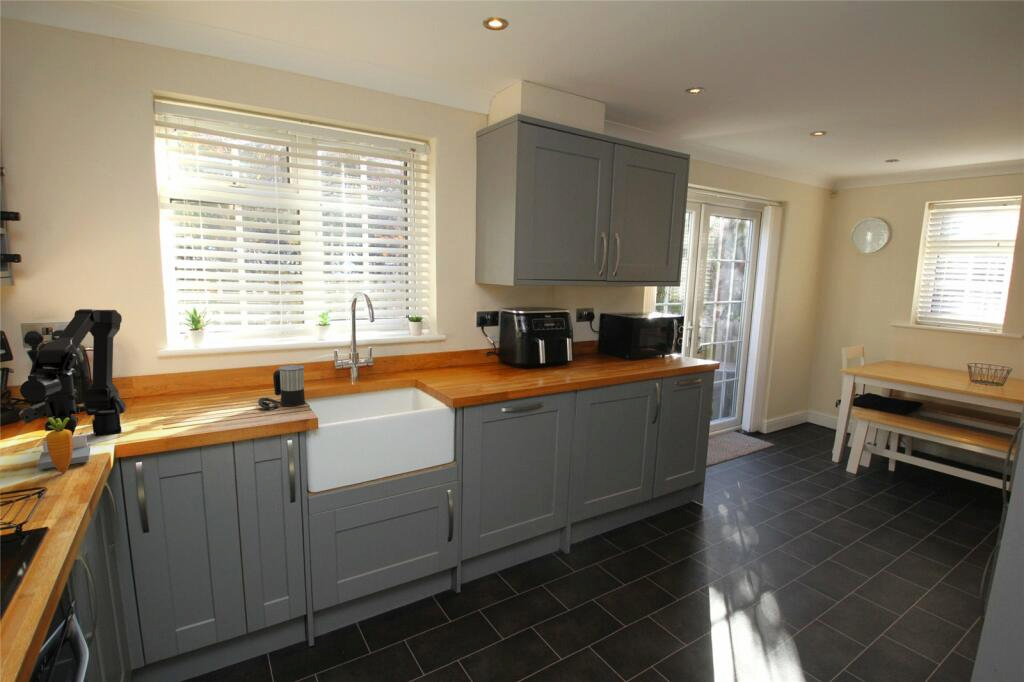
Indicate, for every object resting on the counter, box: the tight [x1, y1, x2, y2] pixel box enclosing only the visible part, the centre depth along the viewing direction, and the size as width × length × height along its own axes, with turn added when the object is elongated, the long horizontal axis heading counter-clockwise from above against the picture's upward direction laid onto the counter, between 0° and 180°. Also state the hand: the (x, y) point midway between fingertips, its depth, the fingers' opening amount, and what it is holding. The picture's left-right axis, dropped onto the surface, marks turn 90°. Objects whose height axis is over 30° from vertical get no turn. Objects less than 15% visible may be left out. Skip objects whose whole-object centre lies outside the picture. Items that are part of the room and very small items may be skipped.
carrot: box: [45, 417, 73, 474], centre depth 127 cm, size 5×5×15 cm
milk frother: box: [257, 364, 306, 410], centre depth 194 cm, size 14×16×15 cm
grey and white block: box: [37, 433, 91, 471], centre depth 135 cm, size 10×10×6 cm
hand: (66, 446), depth 140 cm, fingers closed
